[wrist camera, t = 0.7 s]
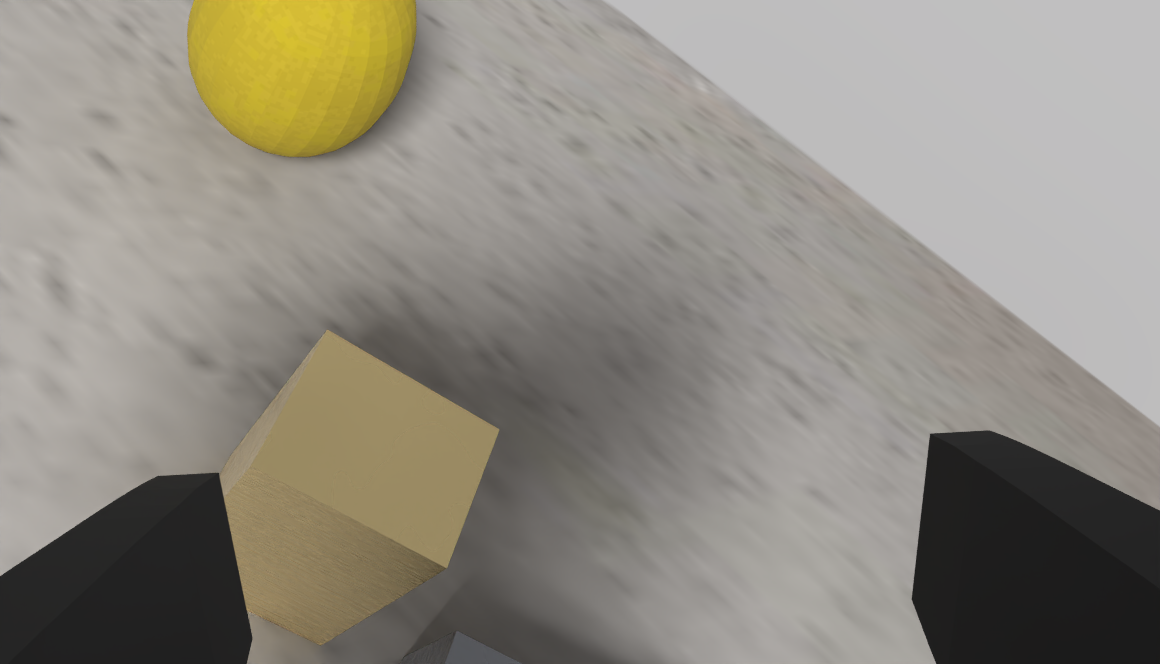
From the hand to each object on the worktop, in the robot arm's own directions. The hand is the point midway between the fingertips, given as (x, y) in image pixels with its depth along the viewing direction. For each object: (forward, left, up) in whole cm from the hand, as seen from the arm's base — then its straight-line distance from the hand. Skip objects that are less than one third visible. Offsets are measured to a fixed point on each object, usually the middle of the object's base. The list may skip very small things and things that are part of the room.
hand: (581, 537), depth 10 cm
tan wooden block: (+4, +1, -15) cm, 16 cm away
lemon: (+15, +7, -15) cm, 23 cm away
